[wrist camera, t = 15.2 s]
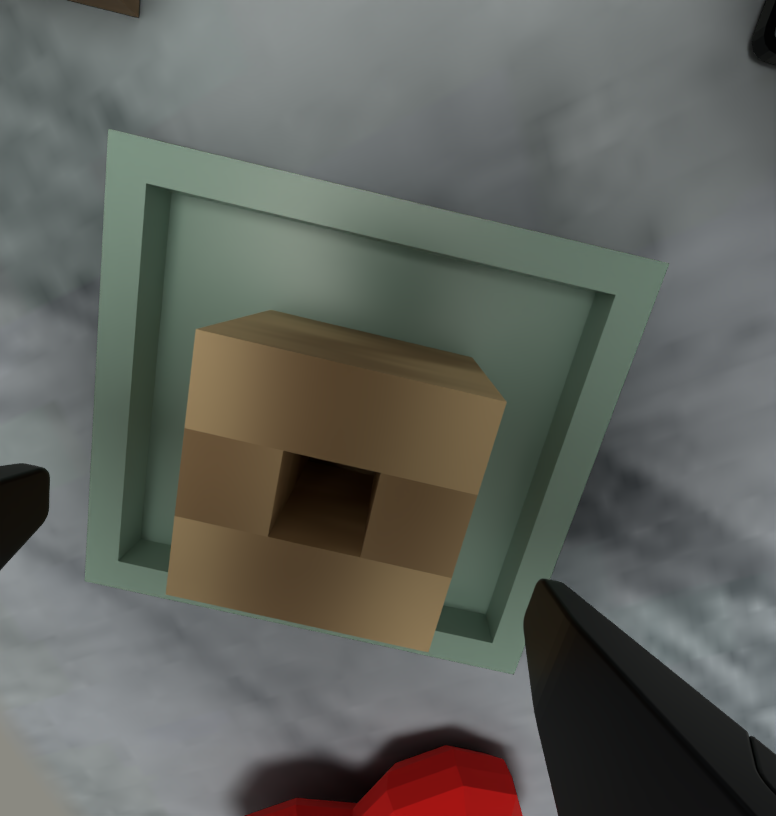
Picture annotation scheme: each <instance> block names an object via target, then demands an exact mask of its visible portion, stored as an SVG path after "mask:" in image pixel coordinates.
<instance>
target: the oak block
mask: <svg viewBox="0 0 776 816" xmlns="http://www.w3.org/2000/svg"><path fill="white" fill-rule="evenodd" d="M506 403H507V402H506V400H505V399H504V398H503V396H502V395H501V394H500V393H499V391H498V390H497V389H496V387H495V386H494V385H493V384H492V382H491V381H490V380H489V378H488V377H487V376H486V375H485V373H484V372H483V371H482V369H481V368H480V367H479V366H478V364H477V363H476V362H475V360H474V359H473V358H472V357H469V356H464V355H460V354H456V353H452V352H448V351H443V350H439V349H435V348H431V347H426V346H422V345H418V344H414V343H409V342H405V341H401V340H397V339H393V338H388V337H384V336H380V335H376V334H371V333H367V332H363V331H359V330H354V329H350V328H346V327H342V326H338V325H333V324H329V323H325V322H321V321H316V320H312V319H308V318H304V317H299V316H295V315H291V314H287V313H283V312H278V311H274V310H268V311H264V312H260V313H256V314H252V315H248V316H245V317H241V318H237V319H233V320H229V321H225V322H221V323H217V324H214V325H210V326H206V327H202V328H198V329H196V332H195V340H194V349H193V358H192V367H191V376H190V384H189V393H188V402H187V411H186V419H185V428H184V437H183V446H182V455H181V463H180V472H179V481H178V490H177V498H176V507H175V516H174V525H173V534H172V542H171V551H170V560H169V569H168V578H167V586H166V595H170V596H175V597H179V598H184V599H188V600H193V601H197V602H202V603H206V604H211V605H216V606H220V607H225V608H229V609H234V610H238V611H243V612H247V613H252V614H256V615H261V616H265V617H270V618H274V619H279V620H284V621H288V622H293V623H297V624H302V625H306V626H311V627H315V628H320V629H324V630H329V631H333V632H338V633H342V634H347V635H352V636H356V637H361V638H365V639H370V640H374V641H379V642H383V643H388V644H392V645H397V646H401V647H406V648H411V649H415V650H420V651H424V652H429V649H430V646H431V643H432V639H433V636H434V633H435V630H436V627H437V623H438V620H439V617H440V614H441V611H442V607H443V604H444V601H445V598H446V595H447V591H448V588H449V585H450V582H451V579H452V576H453V572H454V569H455V566H456V563H457V560H458V556H459V553H460V550H461V547H462V544H463V540H464V537H465V534H466V531H467V528H468V524H469V521H470V518H471V515H472V512H473V508H474V505H475V502H476V499H477V496H478V492H479V489H480V486H481V483H482V480H483V476H484V473H485V470H486V467H487V464H488V461H489V457H490V454H491V451H492V448H493V445H494V441H495V438H496V435H497V432H498V429H499V425H500V422H501V419H502V416H503V413H504V409H505V406H506Z"/></svg>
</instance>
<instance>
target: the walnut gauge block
mask: <svg viewBox="0 0 776 816" xmlns="http://www.w3.org/2000/svg"><path fill="white" fill-rule="evenodd" d="M69 1H73V2H77V3H81V4H85V5H89V6H93V7H97V8H102V9H106V10H110V11H114V12H118V13H122V14H126V15H130V16H134V17H138V18H139V2H140V0H69Z"/></svg>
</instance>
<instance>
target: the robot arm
mask: <svg viewBox="0 0 776 816" xmlns="http://www.w3.org/2000/svg"><path fill="white" fill-rule="evenodd" d="M775 28H776V0H766V3H765V6H764V8H763V11H762V14H761V16H760V19H759V22H758V24H757V27H756V30H755V32H754V36H753V41H752V46H753V52H754V53H755V55H756V56H757V58H759V59H761V60H762V61H764V62H768V63H772V64H776V37H775ZM49 490H50V475H49V472H48V471H47V470H46V469H45V468H42V467H38V466H34V465H29V464H24V463H19V464H12V465H5V466H0V570H1V569H2V568H3V567H4V566H5V565H6V563H7V562H8V561H9V560H10V559H11V558H12V557H13V556H14V555H15V554H16V553H17V551H18V550H19V549H20V548H21V547H22V546H23V545H24V544H25V543H26V542H27V541H28V539H29V538H30V537H31V536H32V535H33V534H34V533H35V532H36V531H37V530H38V528H39V527H40V526H41V525H42V524H43V523H44V521H45V519H46V517H47V515H48V511H49ZM523 631H524V638H525V646H526V654H527V662H528V670H529V677H530V685H531V693H532V700H533V707H534V713H535V718H536V722H537V727H538V731H539V736H540V740H541V744H542V748H543V753H544V757H545V761H546V765H547V770H548V774H549V778H550V782H551V787H552V791H553V795H554V799H555V803H556V808H557V812H558V816H776V754H775V753H773V752H772V751H771V750H770V749H768V748H767V747H766V746H765V745H763V744H762V743H761V742H760V741H759V740H757V739H756V738H755V737H753V736H750V737H749V734H748V732H747V731H746V730H745V729H743V728H742V727H741V726H740V725H739V724H737V723H736V722H735V721H734V720H732V719H731V718H730V717H729V716H727V715H726V714H725V713H724V712H722V711H721V710H720V709H719V708H717V707H716V706H715V705H714V704H712V703H711V702H710V701H709V700H708V699H706V698H705V697H704V696H703V695H701V694H700V693H699V692H698V691H696V690H695V689H694V688H693V687H691V686H690V685H689V684H688V683H686V682H685V681H684V680H683V679H681V678H680V677H679V676H678V675H677V674H675V673H674V672H673V671H672V670H670V669H669V668H668V667H667V666H665V665H664V664H663V663H662V662H660V661H659V660H658V659H657V658H655V657H654V656H653V655H652V654H650V653H649V652H648V651H647V650H646V649H644V648H643V647H642V646H641V645H639V644H638V643H637V642H636V641H634V640H633V639H632V638H631V637H629V636H628V635H627V634H626V633H624V632H623V631H622V630H621V629H620V628H618V627H617V626H616V625H615V624H613V623H612V622H611V621H610V620H608V619H607V618H606V617H605V616H603V615H602V614H601V613H600V612H598V611H597V610H596V609H595V608H593V607H592V606H591V605H590V604H589V603H587V602H586V601H585V600H584V599H582V598H581V597H580V596H579V595H577V594H576V593H575V592H574V591H572V590H571V589H570V588H569V587H567V586H566V585H565V584H564V583H561V582H558V581H554V580H549V579H544V578H542V579H540V580H538V582H537V583H536V585H535V587H534V590H533V593H532V596H531V598H530V601H529V604H528V607H527V609H526V612H525V615H524V620H523Z"/></svg>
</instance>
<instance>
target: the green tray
mask: <svg viewBox="0 0 776 816" xmlns="http://www.w3.org/2000/svg"><path fill="white" fill-rule="evenodd" d="M668 266H669V263H665V262H661V261H656V260H652V259H648V258H644V257H640V256H636V255H631V254H627V253H623V252H619V251H615V250H611V249H606V248H602V247H598V246H594V245H590V244H586V243H581V242H577V241H573V240H569V239H565V238H561V237H557V236H552V235H548V234H544V233H540V232H536V231H532V230H527V229H523V228H519V227H515V226H511V225H507V224H502V223H498V222H494V221H490V220H486V219H482V218H477V217H473V216H469V215H465V214H461V213H457V212H452V211H448V210H444V209H440V208H436V207H432V206H427V205H423V204H419V203H415V202H411V201H407V200H402V199H398V198H394V197H390V196H386V195H382V194H377V193H373V192H369V191H365V190H361V189H357V188H352V187H348V186H344V185H340V184H336V183H332V182H327V181H323V180H319V179H315V178H311V177H307V176H302V175H298V174H294V173H290V172H286V171H282V170H277V169H273V168H269V167H265V166H261V165H257V164H252V163H248V162H244V161H240V160H236V159H232V158H228V157H223V156H219V155H215V154H211V153H207V152H203V151H198V150H194V149H190V148H186V147H182V146H178V145H173V144H169V143H165V142H161V141H157V140H153V139H148V138H144V137H140V136H136V135H132V134H128V133H123V132H119V131H115V130H111V129H108V145H107V164H106V183H105V202H104V222H103V241H102V260H101V279H100V298H99V317H98V336H97V355H96V374H95V394H94V413H93V432H92V451H91V470H90V489H89V508H88V527H87V546H86V566H85V581H86V582H91V583H95V584H100V585H105V586H109V587H114V588H118V589H123V590H128V591H132V592H137V593H141V594H146V595H151V596H155V597H160V598H164V599H169V600H174V601H178V602H183V603H187V604H192V605H197V606H201V607H206V608H210V609H215V610H219V611H224V612H229V613H233V614H238V615H242V616H247V617H252V618H256V619H261V620H265V621H270V622H275V623H279V624H284V625H288V626H293V627H298V628H302V629H307V630H311V631H316V632H321V633H325V634H330V635H334V636H339V637H344V638H348V639H353V640H357V641H362V642H366V643H371V644H376V645H380V646H385V647H389V648H394V649H399V650H403V651H408V652H412V653H417V654H422V655H426V656H431V657H435V658H440V659H445V660H449V661H454V662H458V663H463V664H468V665H472V666H477V667H481V668H486V669H491V670H495V671H500V672H504V673H509V674H514V673H515V670H516V667H517V665H518V662H519V660H520V657H521V654H522V652H523V649H524V646H525V638H524V631H523V620H524V615H525V612H526V609H527V607H528V604H529V601H530V598H531V596H532V593H533V590H534V587H535V585H536V583H537V582H538V580H540V579H542V578H544V579H549V580H550V578H551V575H552V572H553V570H554V567H555V564H556V562H557V559H558V556H559V554H560V551H561V549H562V546H563V543H564V541H565V538H566V535H567V533H568V530H569V527H570V525H571V522H572V519H573V517H574V514H575V512H576V509H577V506H578V504H579V501H580V498H581V496H582V493H583V490H584V488H585V485H586V482H587V480H588V477H589V474H590V472H591V469H592V467H593V464H594V461H595V459H596V456H597V453H598V451H599V448H600V445H601V443H602V440H603V437H604V435H605V432H606V430H607V427H608V424H609V422H610V419H611V416H612V414H613V411H614V408H615V406H616V403H617V400H618V398H619V395H620V393H621V390H622V387H623V385H624V382H625V379H626V377H627V374H628V371H629V369H630V366H631V363H632V361H633V358H634V356H635V353H636V350H637V348H638V345H639V342H640V340H641V337H642V334H643V332H644V329H645V326H646V324H647V321H648V319H649V316H650V313H651V311H652V308H653V305H654V303H655V300H656V297H657V295H658V292H659V289H660V287H661V284H662V282H663V279H664V276H665V274H666V271H667V268H668ZM268 310H274V311H278V312H283V313H287V314H291V315H295V316H299V317H304V318H308V319H312V320H316V321H321V322H325V323H329V324H333V325H338V326H342V327H346V328H350V329H354V330H359V331H363V332H367V333H371V334H376V335H380V336H384V337H388V338H393V339H397V340H401V341H405V342H409V343H414V344H418V345H422V346H426V347H431V348H435V349H439V350H443V351H448V352H452V353H456V354H460V355H464V356H469V357H472V358H473V359H474V360H475V362H476V363H477V364H478V366H479V367H480V368H481V369H482V371H483V372H484V373H485V375H486V376H487V377H488V378H489V380H490V381H491V382H492V384H493V385H494V386H495V387H496V389H497V390H498V391H499V393H500V394H501V395H502V396H503V398H504V399H505V400H506V402H507V403H506V406H505V409H504V413H503V416H502V419H501V422H500V425H499V429H498V432H497V435H496V438H495V441H494V445H493V448H492V451H491V454H490V457H489V461H488V464H487V467H486V470H485V473H484V476H483V480H482V483H481V486H480V489H479V492H478V496H477V499H476V502H475V505H474V508H473V512H472V515H471V518H470V521H469V524H468V528H467V531H466V534H465V537H464V540H463V544H462V547H461V550H460V553H459V556H458V560H457V563H456V566H455V569H454V572H453V576H452V579H451V582H450V585H449V588H448V591H447V595H446V598H445V601H444V604H443V607H442V611H441V614H440V617H439V620H438V623H437V627H436V630H435V633H434V636H433V639H432V643H431V646H430V649H429V652H424V651H420V650H415V649H411V648H406V647H401V646H397V645H392V644H388V643H383V642H379V641H374V640H370V639H365V638H361V637H356V636H352V635H347V634H342V633H338V632H333V631H329V630H324V629H320V628H315V627H311V626H306V625H302V624H297V623H293V622H288V621H284V620H279V619H274V618H270V617H265V616H261V615H256V614H252V613H247V612H243V611H238V610H234V609H229V608H225V607H220V606H216V605H211V604H206V603H202V602H197V601H193V600H188V599H184V598H179V597H175V596H170V595H166V586H167V578H168V569H169V560H170V551H171V542H172V534H173V525H174V516H175V507H176V498H177V490H178V481H179V472H180V463H181V455H182V446H183V437H184V428H185V419H186V411H187V402H188V393H189V384H190V376H191V367H192V358H193V349H194V340H195V332H196V329H198V328H202V327H206V326H210V325H214V324H217V323H221V322H225V321H229V320H233V319H237V318H241V317H245V316H248V315H252V314H256V313H260V312H264V311H268Z"/></svg>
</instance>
